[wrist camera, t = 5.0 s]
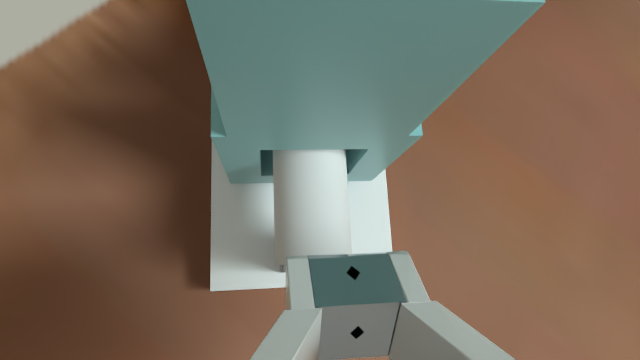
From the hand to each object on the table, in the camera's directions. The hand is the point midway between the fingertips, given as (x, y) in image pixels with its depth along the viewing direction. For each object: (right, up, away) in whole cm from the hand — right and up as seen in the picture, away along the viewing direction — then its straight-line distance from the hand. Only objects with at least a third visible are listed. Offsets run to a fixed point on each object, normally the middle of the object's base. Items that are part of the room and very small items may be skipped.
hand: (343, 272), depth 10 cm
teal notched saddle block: (-2, +4, +10) cm, 11 cm away
